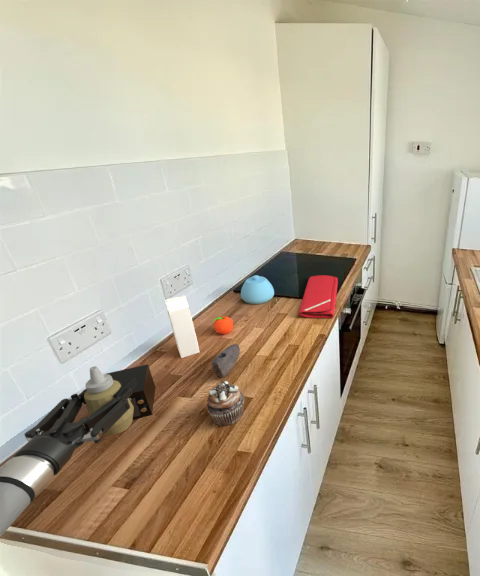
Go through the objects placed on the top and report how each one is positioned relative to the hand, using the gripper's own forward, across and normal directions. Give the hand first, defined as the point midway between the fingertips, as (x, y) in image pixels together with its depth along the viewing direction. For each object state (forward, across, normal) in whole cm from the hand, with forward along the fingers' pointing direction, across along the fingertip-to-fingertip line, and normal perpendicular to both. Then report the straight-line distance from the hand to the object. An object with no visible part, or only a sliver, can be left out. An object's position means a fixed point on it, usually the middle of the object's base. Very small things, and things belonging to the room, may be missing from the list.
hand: (119, 380), depth 80 cm
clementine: (+46, +5, -17) cm, 49 cm away
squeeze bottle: (-5, 0, -10) cm, 11 cm away
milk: (+34, -3, -17) cm, 38 cm away
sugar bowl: (+76, +9, -17) cm, 78 cm away
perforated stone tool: (+25, +14, -17) cm, 34 cm away
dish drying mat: (+78, +39, -17) cm, 89 cm away
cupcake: (+5, +22, -17) cm, 28 cm away
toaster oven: (+8, -6, -17) cm, 19 cm away
